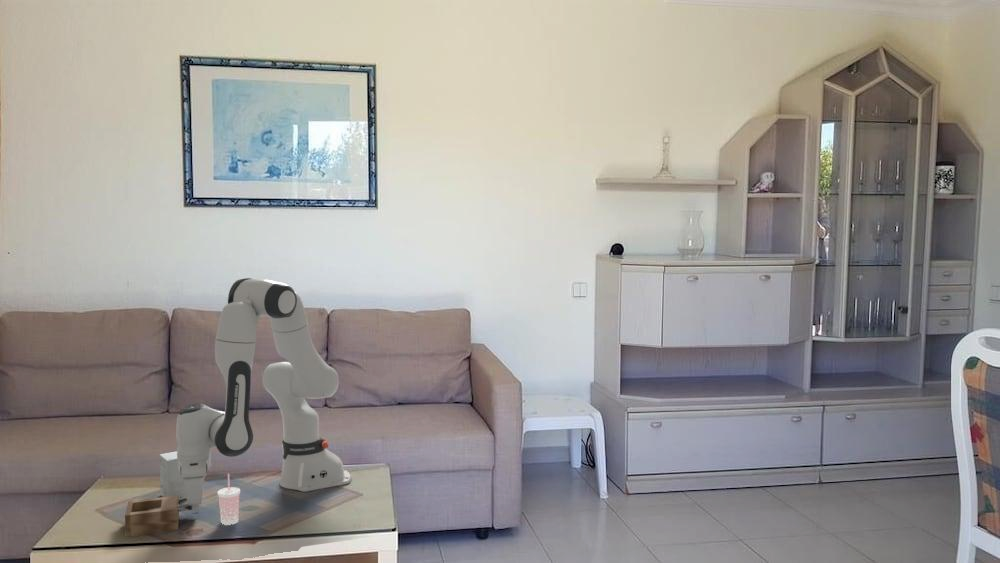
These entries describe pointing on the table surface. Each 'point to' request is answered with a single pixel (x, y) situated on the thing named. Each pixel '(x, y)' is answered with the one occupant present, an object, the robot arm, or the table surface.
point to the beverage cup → (229, 504)
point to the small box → (171, 477)
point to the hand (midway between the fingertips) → (195, 509)
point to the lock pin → (179, 508)
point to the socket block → (151, 516)
